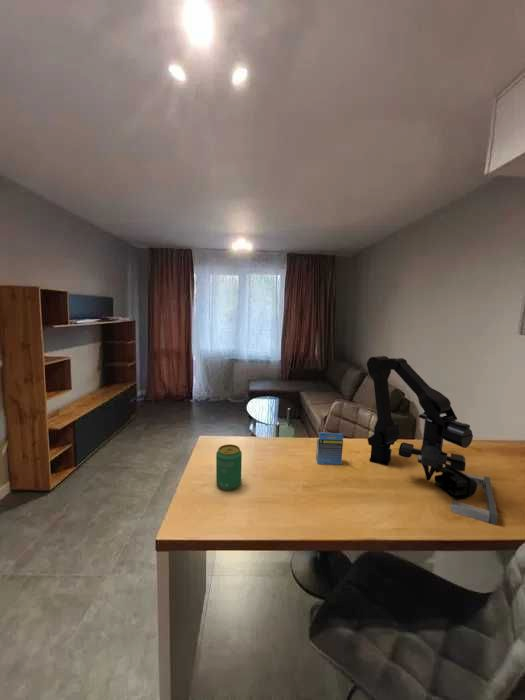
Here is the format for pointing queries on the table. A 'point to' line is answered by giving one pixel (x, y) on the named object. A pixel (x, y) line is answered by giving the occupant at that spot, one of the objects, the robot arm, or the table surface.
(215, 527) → the table surface
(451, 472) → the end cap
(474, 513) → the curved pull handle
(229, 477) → the beverage can
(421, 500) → the table surface
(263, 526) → the table surface
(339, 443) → the label tape box
